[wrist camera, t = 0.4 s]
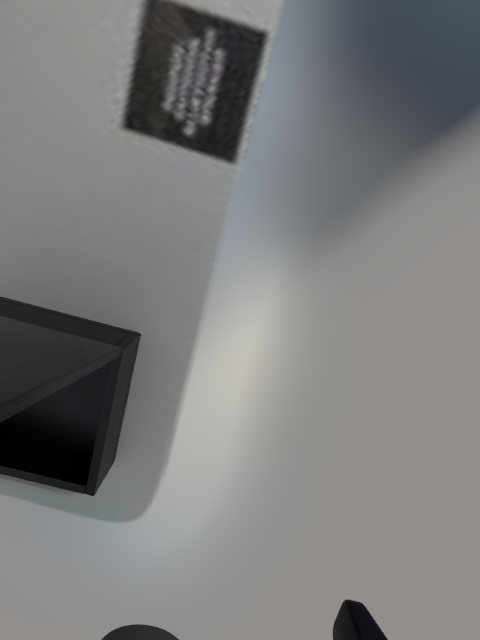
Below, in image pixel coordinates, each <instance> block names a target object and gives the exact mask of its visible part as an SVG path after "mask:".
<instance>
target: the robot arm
mask: <svg viewBox="0 0 480 640" xmlns="http://www.w3.org/2000/svg"><path fill="white" fill-rule="evenodd" d="M333 640H388V639H387V638H386V636H385V635H384V633H383V632H382V631H381V629H380V628H379V626H378V625H377V623H376V622H375V620H374V619H373V617H372V616H371V614H370V613H369V611H368V610H367V608H366V607H365V606H364V605H363V604H362V603H360V602H357V601H352V600H345V601H344V602H343V603H342V606H341V608H340V610H339V613H338V615H337V618H336V620H335V622H334V626H333Z"/></svg>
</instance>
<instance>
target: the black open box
mask: <svg viewBox="0 0 480 640" xmlns="http://www.w3.org/2000/svg"><path fill="white" fill-rule="evenodd" d="M0 316H2V317H6V318H10V319H14V320H18V321H22V322H25V323H29V324H33V325H37V326H41V327H45V328H49V329H53V330H56V331H60V332H64V333H68V334H72V335H76V336H80V337H83V338H87V339H91V340H95V341H99V342H103V343H107V344H110V345H114V346H118V347H121V352H120V356H119V357H118V358H117V359H115V360H113V361H111V362H109V363H108V364H106V365H104V366H102V367H100V368H98V369H97V370H95V371H93V372H91V373H89V374H88V375H86V376H84V377H82V378H80V379H78V380H77V381H75V382H73V383H71V384H69V385H68V386H66V387H64V388H62V389H60V390H58V391H57V392H55V393H53V394H51V395H49V396H48V397H46V398H44V399H42V400H40V401H38V402H37V403H35V404H33V405H31V406H29V407H28V408H26V409H24V410H22V411H20V412H19V413H17V414H15V415H13V416H11V417H9V418H8V419H6V420H4V421H2V422H0V474H3V475H8V476H12V477H16V478H20V479H24V480H28V481H32V482H37V483H41V484H45V485H49V486H53V487H57V488H62V489H66V490H70V491H74V492H78V493H82V494H87V495H91V496H94V495H95V493H96V492H97V490H98V488H99V487H100V485H101V483H102V481H103V480H104V478H105V476H106V475H107V473H108V471H109V470H110V468H111V466H112V464H113V463H114V460H115V456H116V451H117V446H118V441H119V436H120V432H121V427H122V422H123V417H124V413H125V408H126V403H127V398H128V393H129V389H130V384H131V379H132V374H133V369H134V365H135V360H136V355H137V350H138V346H139V341H140V336H141V334H140V333H137V332H133V331H129V330H126V329H122V328H118V327H114V326H110V325H107V324H103V323H99V322H95V321H91V320H87V319H84V318H80V317H76V316H72V315H68V314H64V313H61V312H57V311H53V310H49V309H45V308H41V307H38V306H34V305H30V304H26V303H22V302H18V301H15V300H11V299H7V298H3V297H0Z"/></svg>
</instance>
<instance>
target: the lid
mask: <svg viewBox="0 0 480 640" xmlns="http://www.w3.org/2000/svg"><path fill="white" fill-rule="evenodd" d="M120 352H121V347H118V346H114V345H110V344H107V343H103V342H99V341H95V340H91V339H87V338H83V337H80V336H76V335H72V334H68V333H64V332H60V331H56V330H53V329H49V328H45V327H41V326H37V325H33V324H29V323H25V322H22V321H18V320H14V319H10V318H6V317H2V316H0V422H2V421H4V420H6V419H8V418H9V417H11V416H13V415H15V414H17V413H19V412H20V411H22V410H24V409H26V408H28V407H29V406H31V405H33V404H35V403H37V402H38V401H40V400H42V399H44V398H46V397H48V396H49V395H51V394H53V393H55V392H57V391H58V390H60V389H62V388H64V387H66V386H68V385H69V384H71V383H73V382H75V381H77V380H78V379H80V378H82V377H84V376H86V375H88V374H89V373H91V372H93V371H95V370H97V369H98V368H100V367H102V366H104V365H106V364H108V363H109V362H111V361H113V360H115V359H117V358H118V357H119V356H120Z"/></svg>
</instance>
